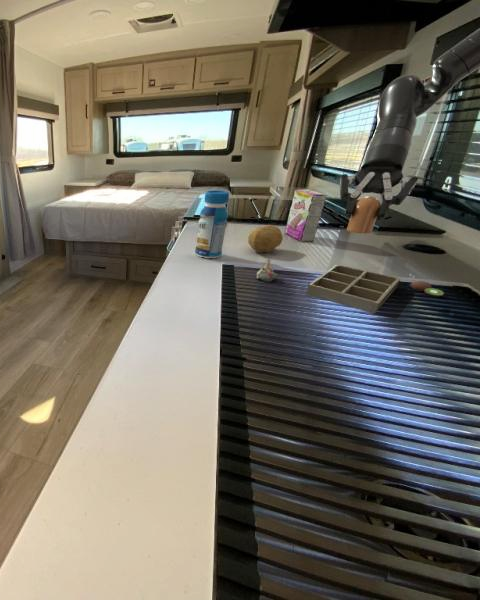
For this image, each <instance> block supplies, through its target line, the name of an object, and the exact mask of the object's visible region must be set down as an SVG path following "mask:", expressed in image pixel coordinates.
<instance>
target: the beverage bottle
mask: <svg viewBox="0 0 480 600" xmlns="http://www.w3.org/2000/svg"><path fill="white" fill-rule="evenodd" d="M229 197H230V192H229V191H227V190H217V189H216V190H214V189H213V190H206V191H205V194H204V201H203V202H204V204H205V205H204V206H203V207H202V209H201V211H200V213H199V216H200V218H199V220H198V223H197V225H198V229H197V237H196V244H195V249H194V250H195V251H194V255H196V256H197V257H199V256H200V257H199V258H202V257H204V258H203V259H209V258H213V259H218V258H220V257H221V256H222V253H223V245H224V240H225V234H226V228H227V227H228V220H227V219H228V217H229V210H228V208H227V206H226V205H227V204H228V202H229Z"/></svg>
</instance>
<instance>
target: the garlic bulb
mask: <svg viewBox="0 0 480 600" xmlns="http://www.w3.org/2000/svg"><path fill="white" fill-rule="evenodd" d="M276 278H278V274H277V273H276V272H274V269H273V266H272V265H271V259H270V258H267V260H266V262H265V265H264V267H261V268H260V270H259V269H258V271H257V272H256V279H257V280H261V281H262V282H265V283H271V282H273V281H274V280H275V279H276Z"/></svg>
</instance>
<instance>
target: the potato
mask: <svg viewBox="0 0 480 600" xmlns="http://www.w3.org/2000/svg"><path fill="white" fill-rule="evenodd" d="M283 239H284V237H283V233H282V230H281V229H280V228H279V227H277V226H275V225H274V224H266V225H263V226H262V225H261V226H259V227H255V228H254V229H252V230H251V231H250V232H249V233H248V235H247V241H248V242H247V243H248V245H249V246H250V248H251V249H253V250H254V251H255V252H258V253H261V254H262V253H267V252H271V251H274V250H275V249H276V248H278V247H279V246H280V245H282V242H283Z"/></svg>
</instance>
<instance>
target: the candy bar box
mask: <svg viewBox="0 0 480 600" xmlns="http://www.w3.org/2000/svg"><path fill="white" fill-rule="evenodd" d="M327 196H328V195H327V194H325V193H323V192H320V191H319V192H318V191H315V190H311V189H307V188H306V189H295V190H294V192H293V197H292V201H291V205H290V208H289V214H288V218H287V222H286V224H285V225H286V226H285V230H284V234H285V235H287V236H288V237H291V238H293V239H295V240H297V241H299V242H305V243H306V242H307V243H308V242H314V241H315V237H316V234H317V230H318V227H319V224H320V220H321V218H322V217H321V216H322V213H323V210H324V207H325V203H326V200H327Z"/></svg>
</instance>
